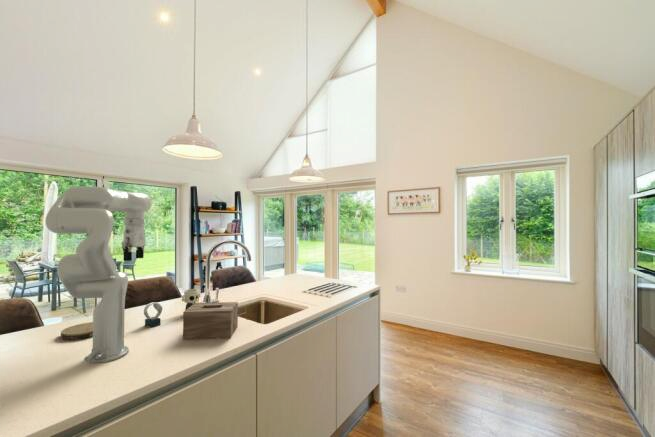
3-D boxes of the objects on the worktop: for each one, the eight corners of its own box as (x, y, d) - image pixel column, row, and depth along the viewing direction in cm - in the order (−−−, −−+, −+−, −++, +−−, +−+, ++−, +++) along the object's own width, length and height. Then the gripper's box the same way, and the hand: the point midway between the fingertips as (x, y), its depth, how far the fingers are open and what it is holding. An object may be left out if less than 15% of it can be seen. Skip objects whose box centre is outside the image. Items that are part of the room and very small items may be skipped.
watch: (164, 323, 144) (164, 301, 144) (147, 328, 137) (148, 305, 137) (157, 321, 147) (157, 300, 147) (141, 326, 140) (141, 303, 140)
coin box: (230, 338, 126) (230, 310, 126) (182, 339, 124) (183, 311, 124) (237, 326, 140) (237, 301, 140) (194, 328, 138) (195, 302, 138)
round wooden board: (53, 337, 127) (54, 330, 127) (96, 326, 141) (96, 319, 141) (71, 344, 120) (71, 337, 120) (113, 331, 134) (114, 325, 134)
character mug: (185, 317, 153) (186, 293, 154) (177, 315, 157) (178, 291, 157) (203, 312, 163) (204, 289, 163) (196, 310, 166) (196, 287, 167)
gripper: (132, 222, 126) (131, 261, 126) (152, 222, 143) (151, 257, 143) (113, 222, 125) (113, 261, 125) (136, 222, 143) (135, 257, 142)
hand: (133, 259), depth 134 cm, fingers open, 9 cm apart
